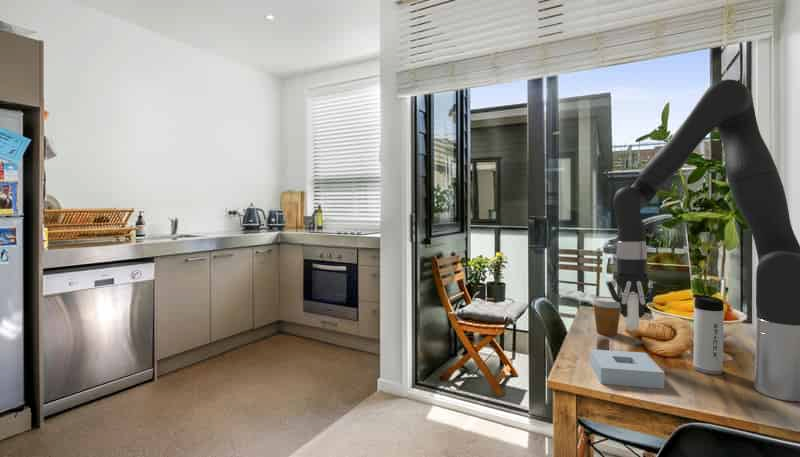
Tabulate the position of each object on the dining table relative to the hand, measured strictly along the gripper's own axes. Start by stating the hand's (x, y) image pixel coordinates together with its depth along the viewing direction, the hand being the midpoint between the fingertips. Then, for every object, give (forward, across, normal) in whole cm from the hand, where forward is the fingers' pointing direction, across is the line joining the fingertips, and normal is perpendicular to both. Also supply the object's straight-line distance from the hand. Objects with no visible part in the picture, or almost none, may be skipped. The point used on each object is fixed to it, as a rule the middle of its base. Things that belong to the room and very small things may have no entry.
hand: (632, 316), depth 119 cm
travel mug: (+13, +17, -5) cm, 22 cm away
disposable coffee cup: (+12, -2, +25) cm, 28 cm away
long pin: (+3, 0, 0) cm, 3 cm away
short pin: (+12, -7, +2) cm, 15 cm away
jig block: (+12, -5, -13) cm, 19 cm away
